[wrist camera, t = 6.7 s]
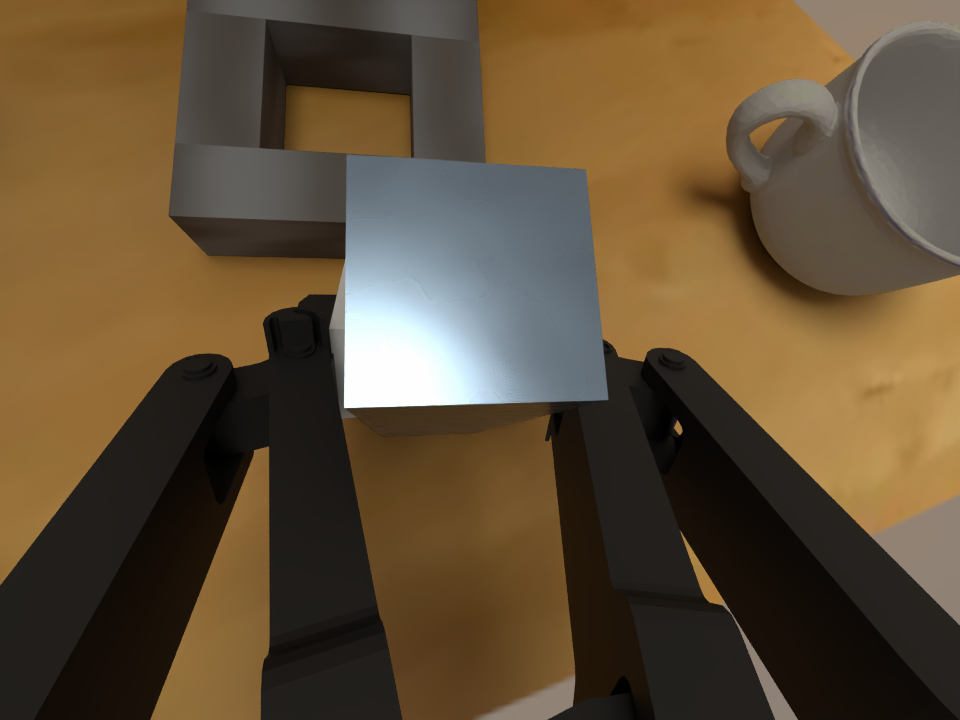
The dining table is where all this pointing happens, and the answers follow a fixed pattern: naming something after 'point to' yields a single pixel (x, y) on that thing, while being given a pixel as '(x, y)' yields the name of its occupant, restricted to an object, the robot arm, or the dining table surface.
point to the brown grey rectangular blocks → (261, 111)
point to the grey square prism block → (468, 295)
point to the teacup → (861, 167)
